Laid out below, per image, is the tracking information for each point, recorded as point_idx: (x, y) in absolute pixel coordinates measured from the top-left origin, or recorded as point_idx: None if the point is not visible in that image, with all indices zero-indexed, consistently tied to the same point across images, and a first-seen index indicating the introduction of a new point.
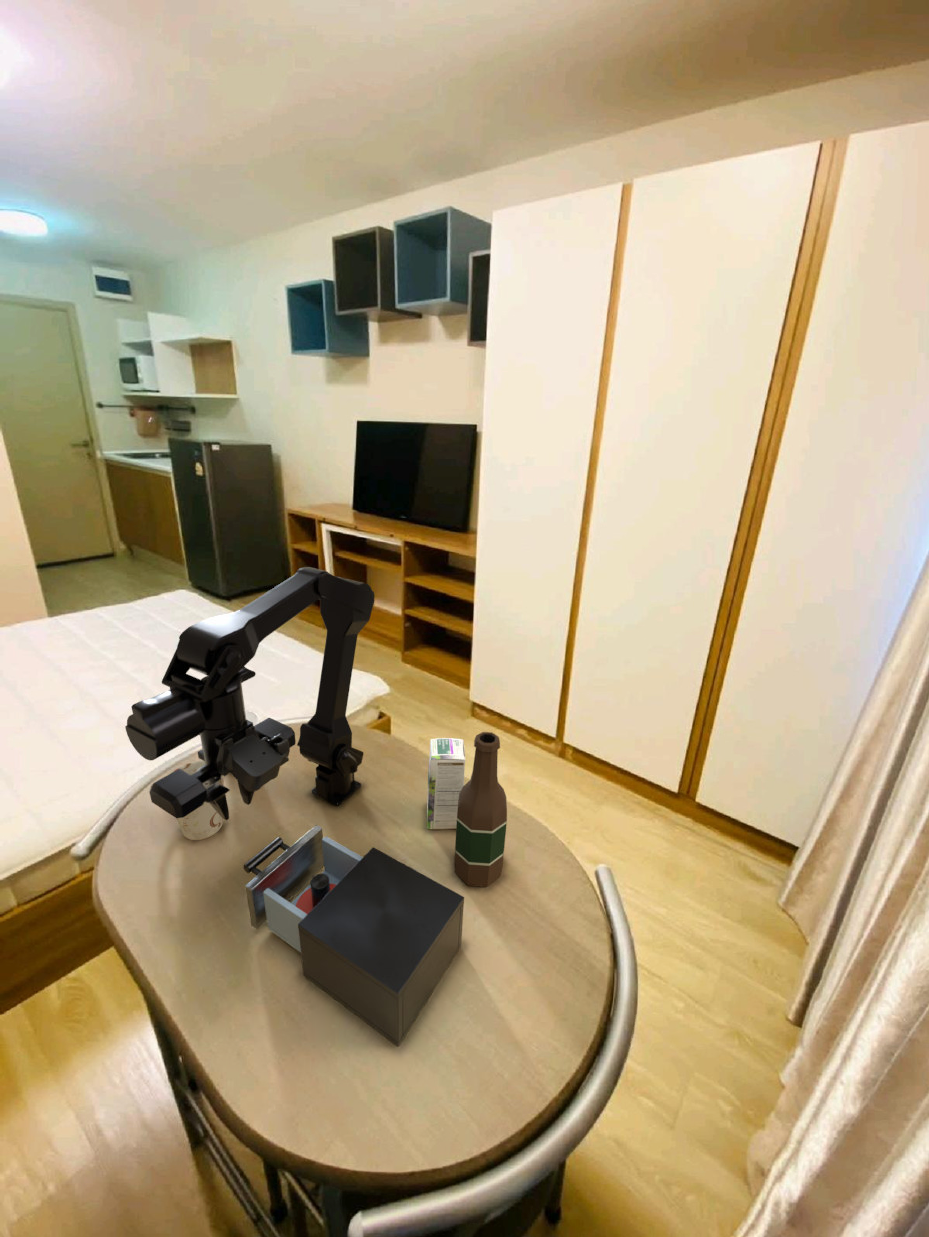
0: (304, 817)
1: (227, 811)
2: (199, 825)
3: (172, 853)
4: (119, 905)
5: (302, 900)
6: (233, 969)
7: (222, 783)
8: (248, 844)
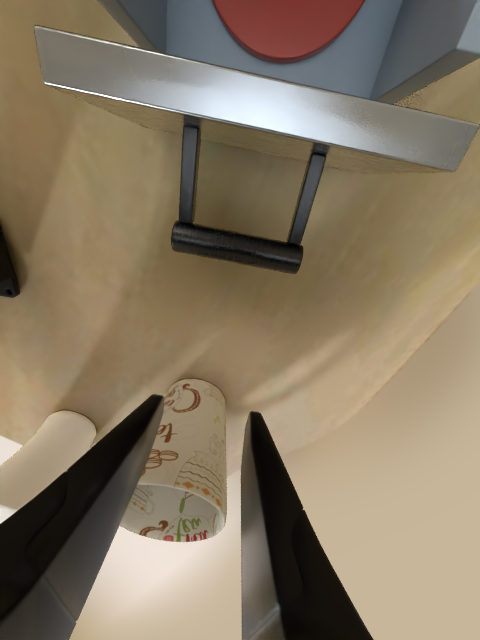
0: (74, 266)
1: (259, 450)
2: (214, 412)
3: (254, 403)
4: (351, 402)
5: (295, 36)
6: None
7: None
8: (188, 321)
